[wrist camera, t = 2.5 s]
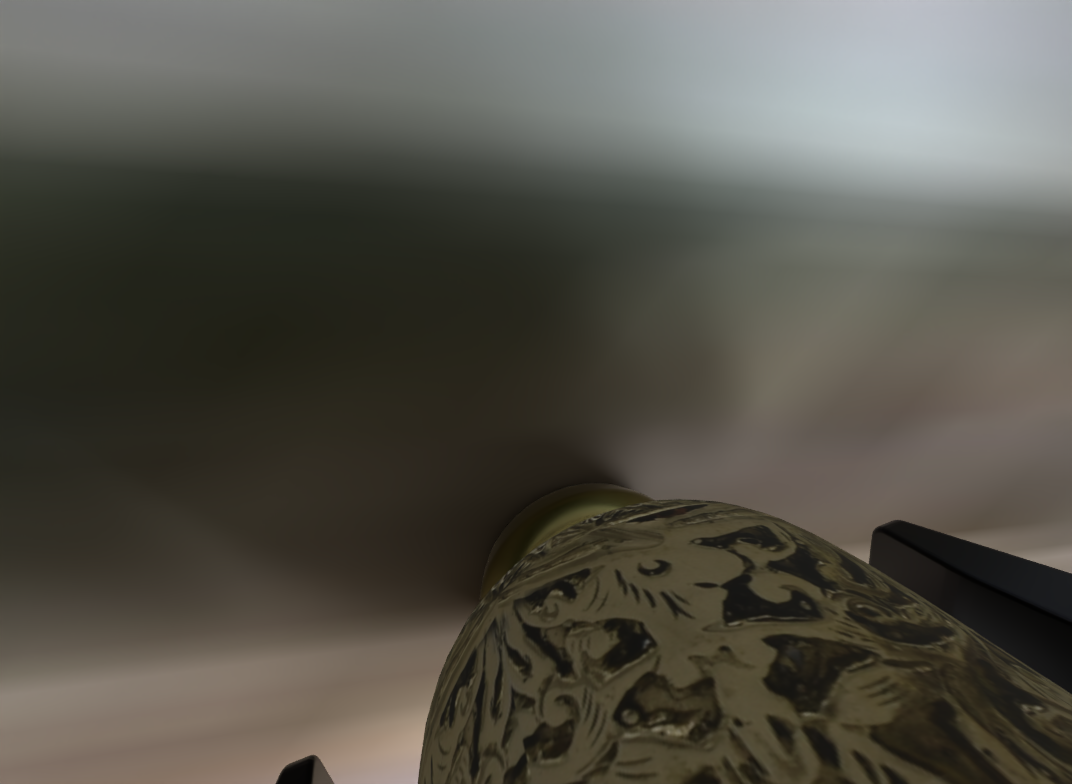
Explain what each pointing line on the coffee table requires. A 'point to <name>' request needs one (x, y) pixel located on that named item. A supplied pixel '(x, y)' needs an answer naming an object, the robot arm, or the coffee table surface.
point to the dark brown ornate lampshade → (721, 662)
